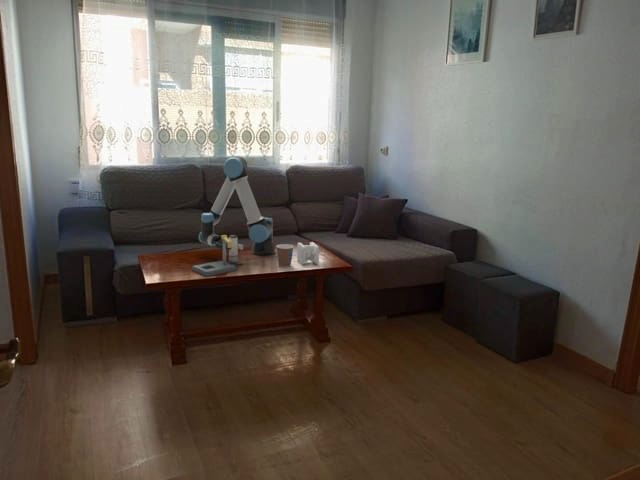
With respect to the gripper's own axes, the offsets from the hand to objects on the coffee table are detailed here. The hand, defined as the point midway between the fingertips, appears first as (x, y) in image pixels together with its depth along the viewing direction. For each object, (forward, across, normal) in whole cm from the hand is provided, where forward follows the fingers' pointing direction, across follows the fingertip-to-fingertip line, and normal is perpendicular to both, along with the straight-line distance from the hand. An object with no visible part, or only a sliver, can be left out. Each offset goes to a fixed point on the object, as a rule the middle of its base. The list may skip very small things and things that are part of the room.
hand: (238, 248), depth 297 cm
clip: (+4, +11, +5) cm, 13 cm away
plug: (-5, 0, -8) cm, 10 cm away
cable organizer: (+19, -38, -11) cm, 44 cm away
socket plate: (-1, +16, -11) cm, 19 cm away
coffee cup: (+16, -22, -11) cm, 29 cm away
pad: (-5, 0, -11) cm, 12 cm away
